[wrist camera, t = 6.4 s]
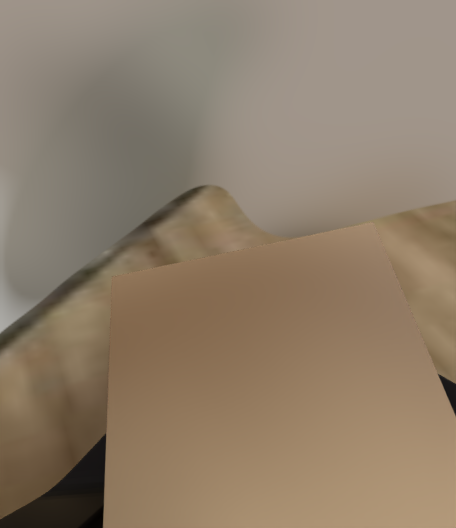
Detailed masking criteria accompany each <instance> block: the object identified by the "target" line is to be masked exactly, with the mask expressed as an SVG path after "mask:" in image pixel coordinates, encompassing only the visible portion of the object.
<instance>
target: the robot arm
mask: <svg viewBox="0 0 456 528" xmlns="http://www.w3.org/2000/svg"><path fill="white" fill-rule="evenodd" d="M438 376H439V378H440V380H441V383H442V385H443V388H444V390H445V392H446V395H447V397H448V399H449V402H450V404H451V406H452V409H453V411H454V414H455V416H456V384H455V383H453V382H452V381H450V380H448V379H446V378H444V377H443V376H441V375H439V374H438ZM105 460H106V434H105V435H104V436H103V437H102V438H101V439H100V440H99V442H98V443H97V444H96V445H95V446H94V447H93V448H92V449H91V450H90V451H89V452H88V453H87V454H86V455H85V456H84V457H83V458H82V460H81V461H80V462H79V463H78V464H77V465H76V466H75V467H74V468H73V469H72V470H71V471H70V472H69V473H68V474H67V475H66V476H65V477H64V478H63V479H62V480H61V481H60V482H59V483H58V484H57V485H55V486H54V487H53V488H52V489H50V490H49V491H48V492H46V493H45V494H43V495H42V496H41V497H39V498H37V499H36V500H34V501H32V502H30V503H29V504H27V505H25V506H23V507H22V508H20V509H18V510H16V511H14V512H13V513H11V514H9V515H7V516H6V517H4V518H2V519H0V528H103V516H104V488H105Z"/></svg>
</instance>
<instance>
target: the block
mask: <svg viewBox="0 0 456 528" xmlns="http://www.w3.org/2000/svg"><path fill="white" fill-rule="evenodd" d="M103 528H456V416H455V414H454V411H453V409H452V406H451V404H450V402H449V399H448V397H447V395H446V392H445V390H444V388H443V385H442V383H441V380H440V378H439V376H438V373H437V371H436V369H435V366H434V364H433V362H432V359H431V357H430V354H429V352H428V350H427V347H426V345H425V343H424V340H423V338H422V336H421V333H420V331H419V328H418V326H417V324H416V321H415V319H414V317H413V314H412V312H411V310H410V307H409V305H408V302H407V300H406V298H405V295H404V293H403V291H402V288H401V286H400V284H399V281H398V279H397V277H396V274H395V272H394V269H393V267H392V265H391V262H390V260H389V258H388V255H387V253H386V251H385V248H384V246H383V243H382V241H381V239H380V236H379V234H378V232H377V229H376V227H375V225H374V222H371V223H366V224H361V225H357V226H352V227H347V228H342V229H338V230H333V231H328V232H323V233H318V234H314V235H309V236H304V237H299V238H294V239H290V240H285V241H280V242H275V243H270V244H266V245H261V246H256V247H251V248H247V249H242V250H237V251H232V252H227V253H223V254H218V255H213V256H208V257H203V258H199V259H194V260H189V261H184V262H180V263H175V264H170V265H165V266H160V267H156V268H151V269H146V270H141V271H136V272H132V273H127V274H122V275H117V276H112V290H111V318H110V346H109V375H108V403H107V431H106V460H105V488H104V516H103Z"/></svg>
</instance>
